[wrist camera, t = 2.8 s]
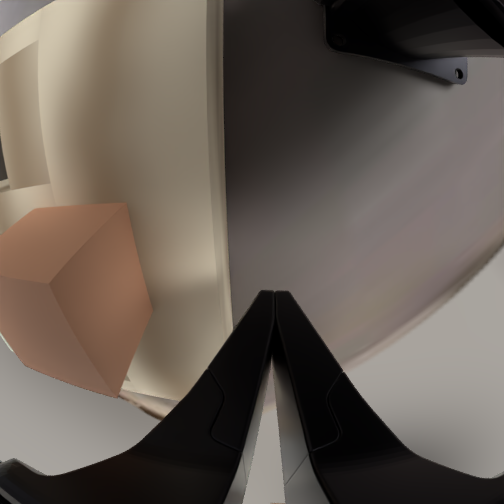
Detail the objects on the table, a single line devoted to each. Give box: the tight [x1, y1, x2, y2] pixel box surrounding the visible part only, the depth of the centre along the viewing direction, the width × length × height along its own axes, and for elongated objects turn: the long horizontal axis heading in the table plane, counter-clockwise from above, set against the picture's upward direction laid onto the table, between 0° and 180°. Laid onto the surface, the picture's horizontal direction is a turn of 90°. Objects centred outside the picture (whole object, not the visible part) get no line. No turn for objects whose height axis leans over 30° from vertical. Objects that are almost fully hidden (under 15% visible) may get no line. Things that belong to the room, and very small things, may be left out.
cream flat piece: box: [0, 0, 233, 401], centre depth 12 cm, size 21×22×3 cm
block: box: [0, 202, 153, 398], centre depth 8 cm, size 5×5×4 cm
